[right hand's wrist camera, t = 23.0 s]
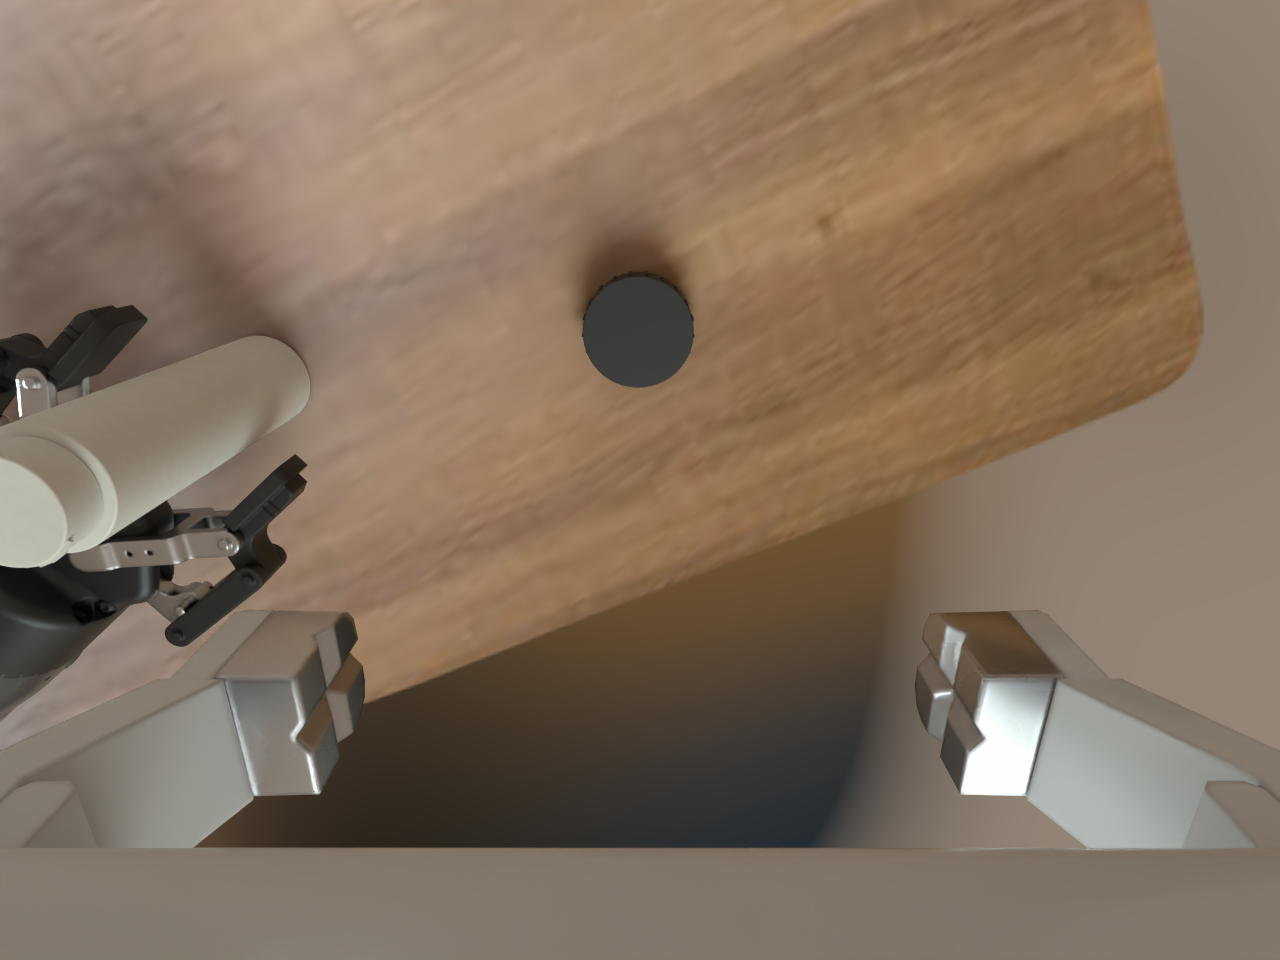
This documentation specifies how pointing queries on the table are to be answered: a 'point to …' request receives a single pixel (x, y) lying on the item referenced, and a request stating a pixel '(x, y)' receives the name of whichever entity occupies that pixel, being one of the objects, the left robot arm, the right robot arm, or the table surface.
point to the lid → (638, 330)
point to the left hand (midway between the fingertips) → (213, 392)
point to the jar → (137, 445)
